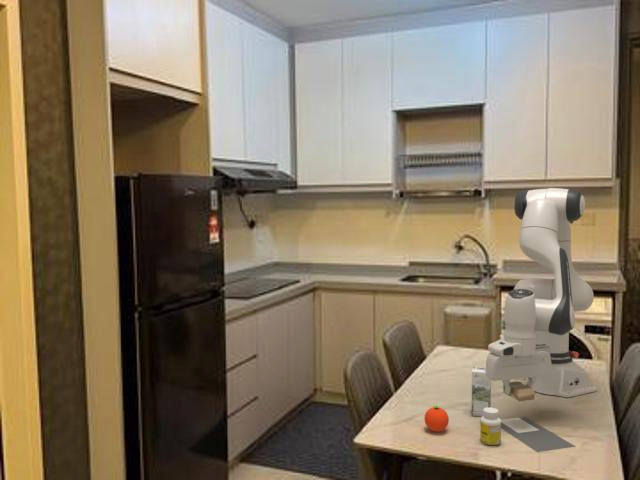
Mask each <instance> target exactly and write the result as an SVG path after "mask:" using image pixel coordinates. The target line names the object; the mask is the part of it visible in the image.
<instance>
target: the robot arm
mask: <svg viewBox="0 0 640 480" xmlns="http://www.w3.org/2000/svg"><path fill="white" fill-rule="evenodd" d="M513 209H514V210H513V211H514V214H515V216H516V217H517V218H518V219H520V220H521V225H520V231H519V239H518V243H519V248H520V249H521V251H522V253H523V254H524V255H525V256H526V257H528V258H530V259H531V260H532V261H534V262H537V263H538V264H539V265H540V266H541V267H542V268H544V269H546V270H548V271H550V272H552V273H553V274H554V278H535V277H532V278H525V279H519V281H517V282H516V283H515V285H514V287H513V289H512V290H510V291H508V292H507V294H506V298H505V304H504V311H503V313H504V314H503V315H504V316H503V317H504V318H503V320H504V325H505V328H504V332H503V335H504V338H502V339H500V338H499V339H498V340H496V341H494V342H492V343H489V344H488V347H487V350H488V352H489V353H488V354H487V356H486V360H485V367H486V376H487V377H488V378H489V379H491V381H494V382H497V381H501V382H502V385H503V384H504V386H505V392H506V393H507V394H513V388H512V387H510V386H509V384H508V383H510V382H511V380H518V379H528V381H527V383H526V385H527V386H529V387H531V388H533V389H535V392H536V393H540V394H544V395H549V396H550V395H551V396H556V397H557V396H559V397H562V398H573V397H576V396H581V395H585V394H589V393H595V392H596V391H597V387H596V386H595V385H593V384H592V383H590V378H589V374H588V372H587V371H586V370H585V369H584V368H583V367H581V366H580V364H577V362H576V361H574V360H573V358H575V359H577V358H579V355H580V353H578V351H574V350H573V351H571V350H569V344H570V342H569V341H570V340H569V339H570V332H571V331H573V329H574V327H575V323H576V315H575V312H583V311H587V310H589V308H590V307H592V304H593V302H594V299H595V298H594V297H595V296H594V291H593V288H592V287H591V285H590V284H589V283H588V282H586V281H585V280H583V279H582V278H581V277H580V276H579V274H578V273H577V271H576V270H575V267H574V264H573V261H572V232H571V231H572V230H571V225H572V224H574V222H576V221H579V219H581V218H582V217H583V214H584V213H585V210H586V199H585V197H584V194H583V192H582V191H581V190H579V189H577V188H568V189H567V188H558V187H549V188H537V189H523V190H521V191H519V192H518V193H517V194H516V195H515V197H514V201H513ZM507 394H506V395H507Z"/></svg>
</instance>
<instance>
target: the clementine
mask: <svg viewBox="0 0 640 480" xmlns="http://www.w3.org/2000/svg"><path fill="white" fill-rule="evenodd" d="M449 421H450V420H449V415H448V412H447V411H446V410H445V409H443V408H442V407H440V406H438V405H433V406H432V407H430V408H429V409H427V410H426V412H425V413H424V423H425V425H426V426H427V429H429V430H430V431H432V432H435V433H436V432H437V433H438V432H439V433H440V432H442V431H444V430H445V429H446V428H447V427H448V424H449V423H450V422H449Z"/></svg>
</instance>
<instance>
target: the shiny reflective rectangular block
mask: <svg viewBox="0 0 640 480" xmlns="http://www.w3.org/2000/svg"><path fill="white" fill-rule="evenodd" d="M508 384H509V386H510V387H512V388H513V394H507V393H506V392H505V386H504V384H503V383H502V385H503V386H502V391H503V392H502V393H504V394H505V395H507V396H508V397H510V398H511V399H512V398H513V399H514V400H515V401H518V402H526V401H535V397H536V396H535V395H536V393H535V392H536V391H535V389H533V388H531V387H529V386H527V384H524V383H523V382H520V381H517V380H515V381H510V383H508Z"/></svg>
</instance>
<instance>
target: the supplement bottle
mask: <svg viewBox="0 0 640 480" xmlns="http://www.w3.org/2000/svg"><path fill="white" fill-rule="evenodd" d="M483 415H484V416H482V417H480V422H479V423H480V432H479V433H480V436H479V437H480V444H482V445H483V446H486V447H491V448H497V447H500V446H501V445H502V428H501V420H502V419H501V418H500V417H499V409H498V408H495V407H491V408H490V407H487V408H484V409H483Z"/></svg>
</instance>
